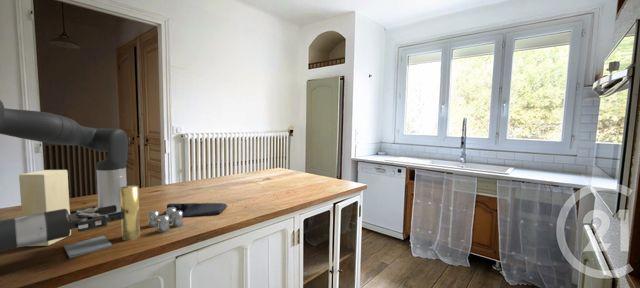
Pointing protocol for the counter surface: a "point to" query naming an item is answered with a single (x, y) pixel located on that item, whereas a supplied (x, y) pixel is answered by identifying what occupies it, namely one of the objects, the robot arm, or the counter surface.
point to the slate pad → (87, 246)
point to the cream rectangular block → (44, 194)
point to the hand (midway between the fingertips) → (120, 211)
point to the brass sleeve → (130, 212)
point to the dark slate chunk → (198, 208)
